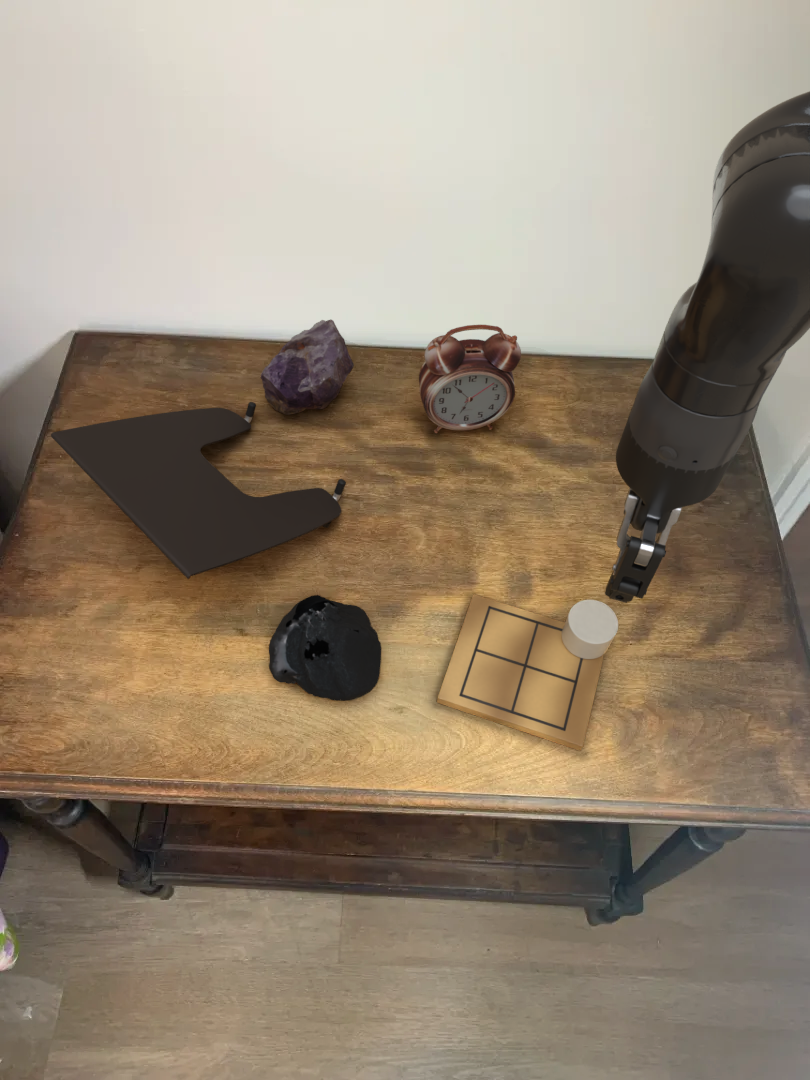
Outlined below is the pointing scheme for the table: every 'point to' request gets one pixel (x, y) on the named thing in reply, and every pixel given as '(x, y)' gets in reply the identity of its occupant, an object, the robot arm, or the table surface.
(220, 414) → the laptop tray
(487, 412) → the alarm clock
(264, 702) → the table surface
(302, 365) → the rock
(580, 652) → the stone
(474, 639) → the board
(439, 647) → the table surface
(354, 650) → the rock
